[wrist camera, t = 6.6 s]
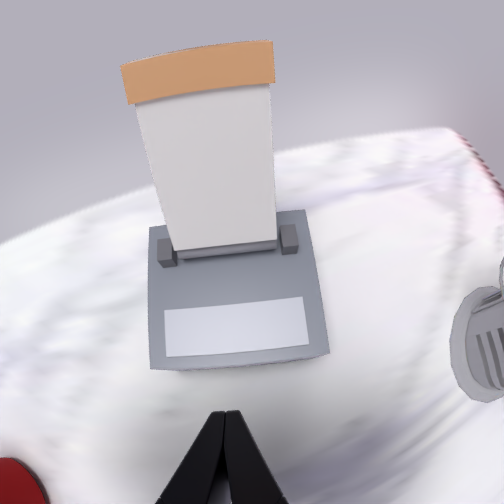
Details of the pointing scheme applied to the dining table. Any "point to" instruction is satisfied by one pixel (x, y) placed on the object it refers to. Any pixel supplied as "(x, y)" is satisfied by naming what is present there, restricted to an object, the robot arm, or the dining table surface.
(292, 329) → the switch box
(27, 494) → the beverage can
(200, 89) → the lever
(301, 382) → the dining table surface
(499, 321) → the french press
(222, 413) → the robot arm
